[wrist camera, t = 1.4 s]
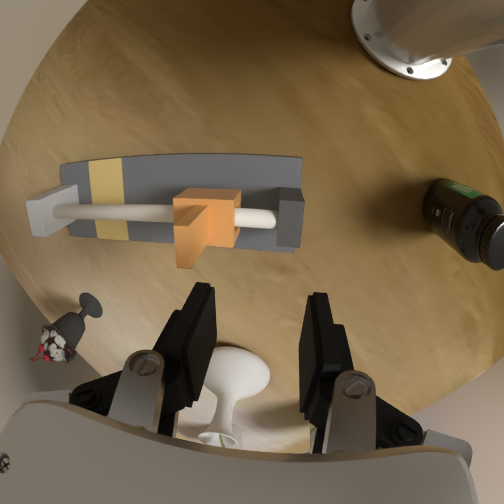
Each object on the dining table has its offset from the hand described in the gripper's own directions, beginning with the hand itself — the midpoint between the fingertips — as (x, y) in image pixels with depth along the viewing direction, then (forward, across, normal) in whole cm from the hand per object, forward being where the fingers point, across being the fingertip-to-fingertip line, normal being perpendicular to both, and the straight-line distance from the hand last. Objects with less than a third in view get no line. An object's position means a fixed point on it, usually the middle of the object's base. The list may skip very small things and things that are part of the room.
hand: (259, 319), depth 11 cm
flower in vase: (+19, +4, +26) cm, 33 cm away
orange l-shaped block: (+15, +6, 0) cm, 16 cm away
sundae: (+19, +28, +18) cm, 39 cm away
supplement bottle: (+19, -20, -2) cm, 28 cm away
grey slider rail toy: (+19, +12, 0) cm, 23 cm away
